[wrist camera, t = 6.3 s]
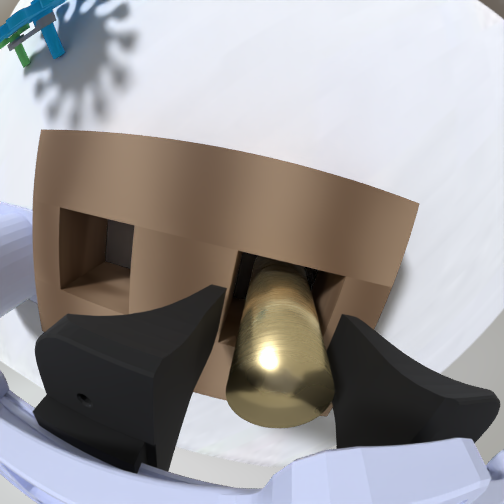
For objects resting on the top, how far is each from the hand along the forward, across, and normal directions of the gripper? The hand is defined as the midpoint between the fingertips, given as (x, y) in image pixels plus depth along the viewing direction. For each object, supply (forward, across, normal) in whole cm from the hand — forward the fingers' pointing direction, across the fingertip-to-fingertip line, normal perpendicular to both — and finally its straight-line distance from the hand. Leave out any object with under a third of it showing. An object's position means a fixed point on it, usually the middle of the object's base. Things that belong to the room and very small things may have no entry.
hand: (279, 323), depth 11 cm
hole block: (+6, +4, 0) cm, 7 cm away
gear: (+6, +20, -15) cm, 26 cm away
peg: (+6, 0, 0) cm, 6 cm away
